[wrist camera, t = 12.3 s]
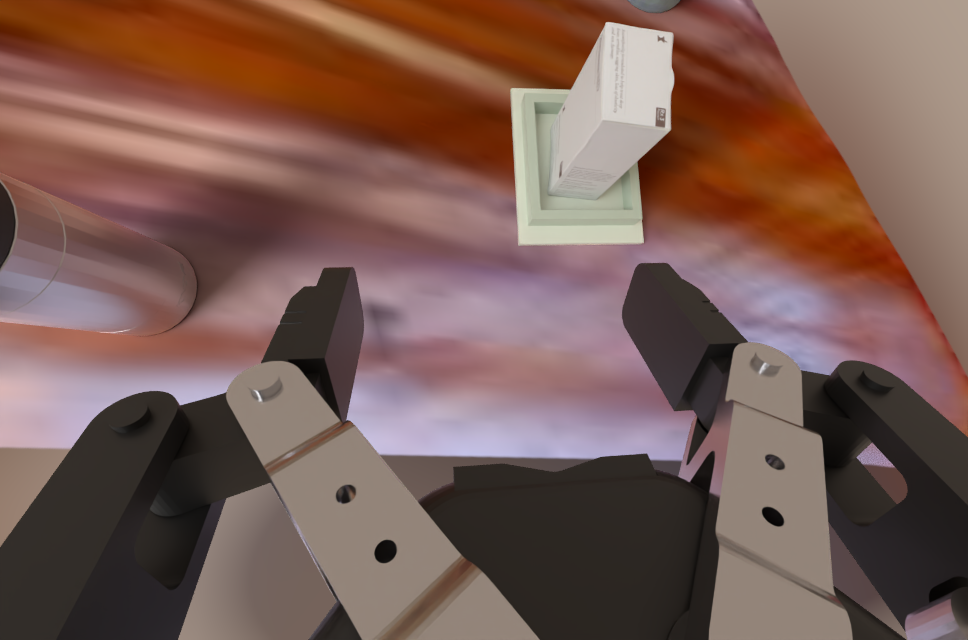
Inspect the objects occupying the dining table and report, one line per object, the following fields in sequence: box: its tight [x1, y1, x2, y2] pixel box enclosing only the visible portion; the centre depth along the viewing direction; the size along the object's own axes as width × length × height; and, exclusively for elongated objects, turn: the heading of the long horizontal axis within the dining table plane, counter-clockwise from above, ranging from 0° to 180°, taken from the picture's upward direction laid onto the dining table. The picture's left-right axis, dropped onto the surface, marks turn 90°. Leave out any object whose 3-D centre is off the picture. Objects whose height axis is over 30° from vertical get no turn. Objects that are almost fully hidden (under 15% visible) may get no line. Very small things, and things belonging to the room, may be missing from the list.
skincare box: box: [547, 22, 674, 200], centre depth 38 cm, size 8×6×15 cm
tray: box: [510, 88, 644, 246], centre depth 44 cm, size 14×18×3 cm
